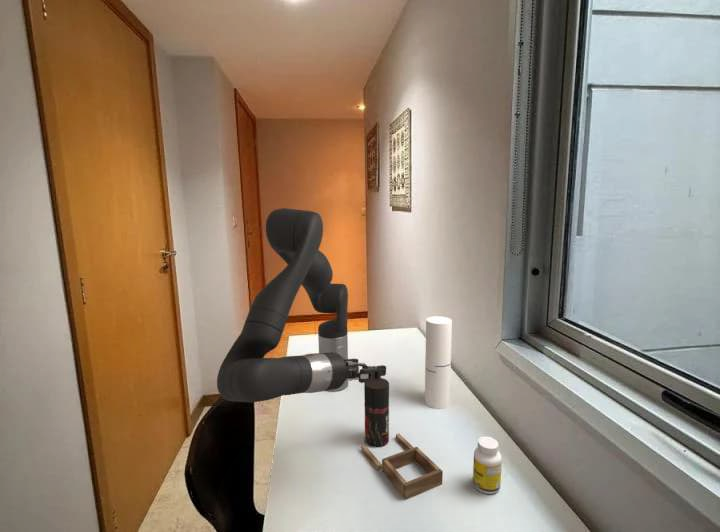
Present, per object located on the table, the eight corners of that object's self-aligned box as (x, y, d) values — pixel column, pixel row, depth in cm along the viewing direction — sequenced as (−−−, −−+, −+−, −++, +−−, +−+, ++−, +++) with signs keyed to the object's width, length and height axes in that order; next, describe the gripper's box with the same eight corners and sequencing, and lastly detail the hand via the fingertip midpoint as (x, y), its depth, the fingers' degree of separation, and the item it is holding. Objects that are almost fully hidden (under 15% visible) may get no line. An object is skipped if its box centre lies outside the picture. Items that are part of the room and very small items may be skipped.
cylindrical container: (449, 409, 107) (452, 324, 103) (424, 407, 109) (425, 323, 105) (449, 397, 114) (451, 316, 110) (425, 395, 116) (426, 315, 112)
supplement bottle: (468, 477, 81) (470, 434, 80) (493, 475, 82) (495, 433, 80) (478, 496, 76) (480, 451, 74) (505, 494, 76) (507, 449, 75)
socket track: (361, 450, 90) (361, 438, 90) (399, 437, 95) (399, 426, 94) (402, 501, 75) (402, 487, 74) (445, 482, 80) (445, 469, 79)
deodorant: (387, 448, 91) (387, 389, 88) (363, 446, 92) (362, 387, 89) (389, 433, 97) (390, 378, 94) (366, 431, 98) (366, 376, 95)
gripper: (345, 359, 72) (396, 355, 84) (298, 347, 82) (350, 345, 94) (341, 400, 72) (393, 390, 84) (294, 383, 81) (347, 376, 93)
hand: (370, 366), depth 89 cm, fingers open, 8 cm apart
